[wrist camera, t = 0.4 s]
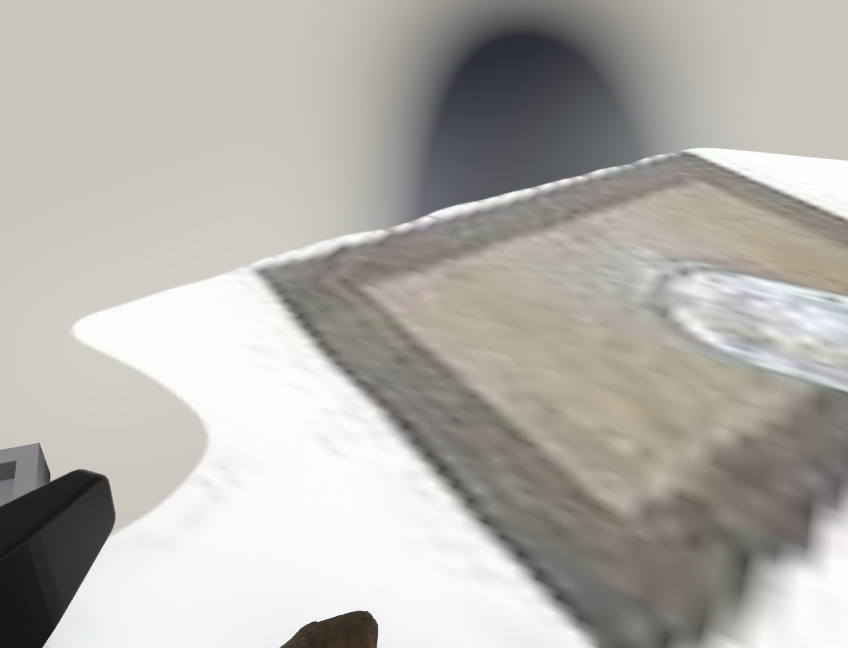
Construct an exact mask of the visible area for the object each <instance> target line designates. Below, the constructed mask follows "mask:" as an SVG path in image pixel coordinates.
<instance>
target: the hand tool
mask: <svg viewBox="0 0 848 648" xmlns="http://www.w3.org/2000/svg"><path fill="white" fill-rule="evenodd" d="M377 640H378V624H377V622H376V620H375V619H374V618H373V616H372V615H371V614H370V613H368V611H354V612H350V613H346V614H343V615H339V616H336V617H333V618H330V619H326V620H323V621H320V622H316V621H315V622H311V623H309V624H307V625H305V626H304V627H302V628H301V629H300V630H299V631H298V632H297V633H296V634H295V635H294V636H293V637H292V639H290V640H289V641H288V642H286V643H285V644H284V645H283V646H281V647H280V648H377Z"/></svg>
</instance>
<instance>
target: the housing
mask: <svg viewBox="0 0 848 648" xmlns="http://www.w3.org/2000/svg"><path fill="white" fill-rule="evenodd" d="M49 482H50V472H49V469H48V466H47V463H46V460H45V457H44V454H43V452H42V449H41V446H40V443H37V444H31V445H25V446H20V447H15V448H9V449H3V450H0V506H2V505H4V504H6V503H8V502H10V501H12V500H14V499H16V498H18V497H20V496H22V495H24V494H26V493H28V492H31V491H33V490H35V489H37V488H39V487H41V486H43V485H45V484H47V483H49Z"/></svg>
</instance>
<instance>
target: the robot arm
mask: <svg viewBox="0 0 848 648" xmlns="http://www.w3.org/2000/svg"><path fill="white" fill-rule="evenodd" d="M114 523H115V508H114V504H113V498H112V493H111V488H110V483H109V480H108V479H107V477H106V476H104V475H102V474H99V473H95V472H92V471H88V470H83V469H78V470H75V471H72V472H70V473H68V474H66V475H64V476H61V477H59V478H57V479H55V480H53V481H51V482H49V483H47V484H45V485H43V486H41V487H39V488H37V489H35V490H33V491H31V492H28V493H26V494H24V495H22V496H20V497H18V498H16V499H14V500H12V501H10V502H8V503H6V504H4V505H2V506H0V648H42V647H43V646H44V644H45V643H46V641H47V640H48V638H49V637H50V635H51V634H52V632H53V631H54V629H55V628H56V626H57V624H58V623H59V621H60V620H61V618H62V616H63V615H64V613H65V611H66V610H67V608H68V606H69V604H70V603H71V601H72V599H73V597H74V596H75V594H76V592H77V590H78V589H79V587H80V585H81V583H82V582H83V580H84V578H85V577H86V575H87V573H88V571H89V570H90V568H91V566H92V564H93V563H94V561H95V559H96V557H97V556H98V554H99V552H100V550H101V549H102V547H103V545H104V544H105V542H106V540H107V538H108V537H109V535H110V533H111V531H112V529H113V526H114Z"/></svg>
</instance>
